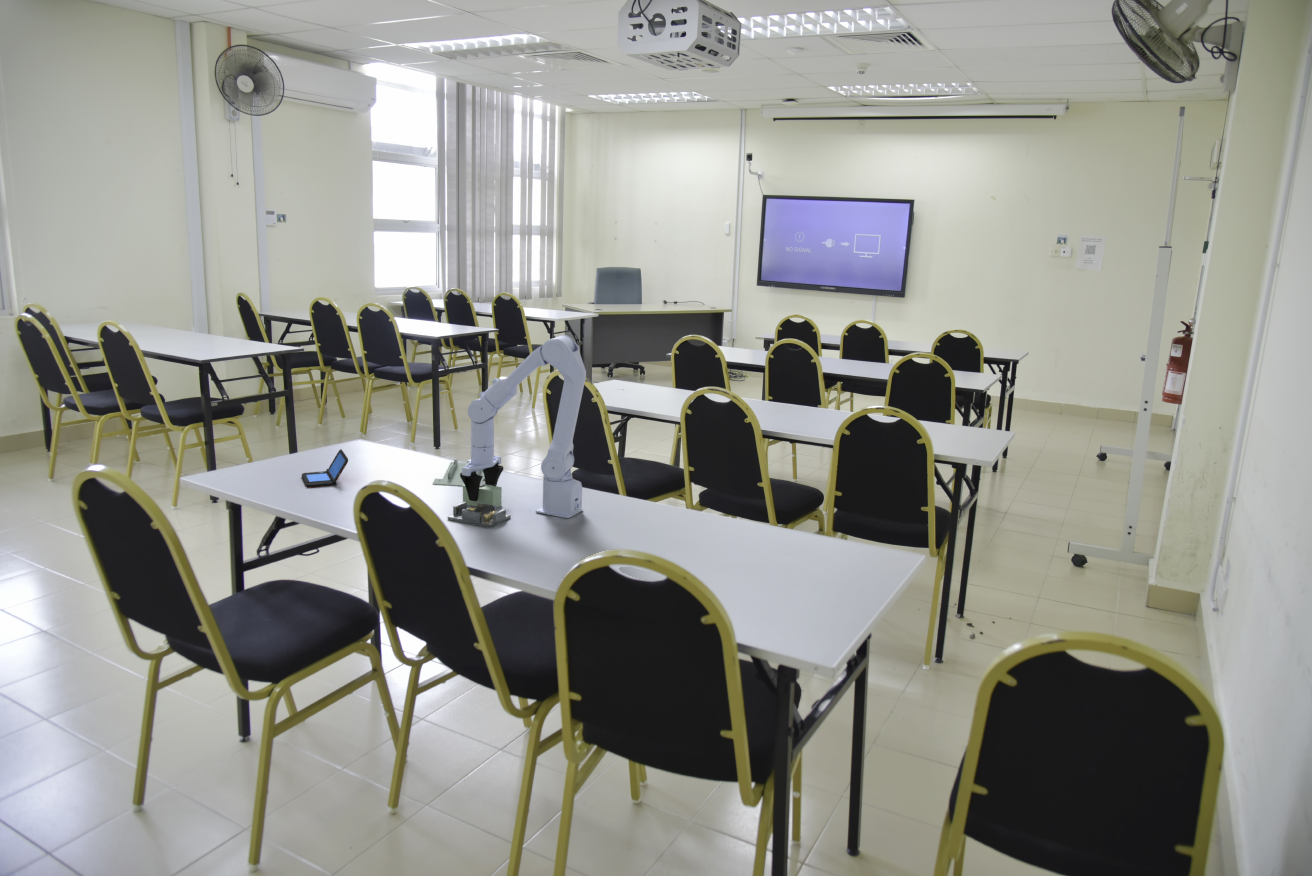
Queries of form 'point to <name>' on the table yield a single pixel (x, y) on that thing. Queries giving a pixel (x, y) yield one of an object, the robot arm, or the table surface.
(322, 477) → the handheld game console
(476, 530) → the table surface
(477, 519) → the chassis
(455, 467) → the metal bracket
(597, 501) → the table surface
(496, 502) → the pale green box
